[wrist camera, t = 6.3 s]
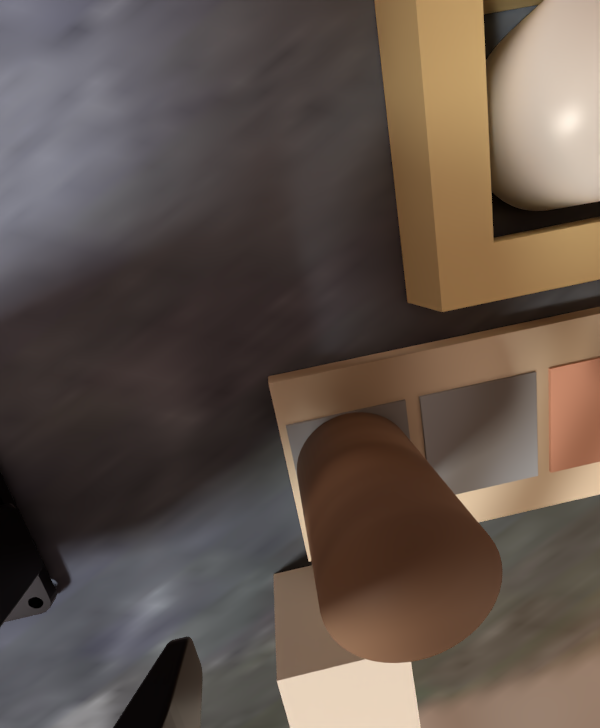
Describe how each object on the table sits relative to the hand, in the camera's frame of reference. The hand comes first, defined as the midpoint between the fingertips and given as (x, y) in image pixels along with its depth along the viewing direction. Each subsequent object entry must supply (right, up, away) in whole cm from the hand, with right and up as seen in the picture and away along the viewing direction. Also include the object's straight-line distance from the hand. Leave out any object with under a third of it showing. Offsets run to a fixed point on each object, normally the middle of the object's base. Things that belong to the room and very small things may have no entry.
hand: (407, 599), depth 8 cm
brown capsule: (0, +1, +5) cm, 5 cm away
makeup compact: (+6, +3, +6) cm, 9 cm away
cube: (-1, -5, +8) cm, 9 cm away
